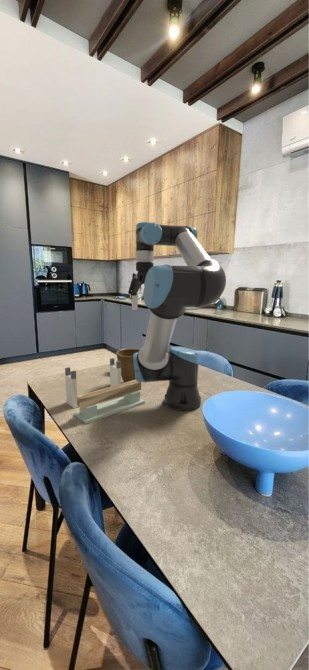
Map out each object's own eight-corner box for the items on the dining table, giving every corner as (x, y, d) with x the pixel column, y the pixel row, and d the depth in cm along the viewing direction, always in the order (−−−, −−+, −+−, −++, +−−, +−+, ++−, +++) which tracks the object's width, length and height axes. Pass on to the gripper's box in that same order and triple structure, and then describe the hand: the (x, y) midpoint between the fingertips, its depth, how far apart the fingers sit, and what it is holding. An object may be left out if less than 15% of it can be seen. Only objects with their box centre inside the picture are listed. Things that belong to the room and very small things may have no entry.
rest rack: (145, 403, 117) (145, 391, 116) (85, 424, 100) (85, 411, 99) (132, 396, 124) (132, 385, 123) (74, 414, 107) (73, 402, 106)
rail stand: (121, 393, 126) (121, 361, 123) (73, 408, 112) (71, 372, 108) (113, 388, 131) (112, 357, 128) (66, 402, 117) (64, 367, 114)
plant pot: (146, 390, 130) (147, 356, 127) (114, 389, 131) (114, 356, 127) (148, 378, 145) (148, 348, 142) (119, 378, 145) (118, 348, 142)
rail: (141, 389, 118) (141, 381, 117) (81, 408, 101) (81, 399, 100) (135, 387, 121) (135, 379, 120) (77, 405, 103) (76, 396, 103)
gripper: (172, 261, 114) (170, 313, 118) (133, 262, 131) (133, 308, 136) (158, 260, 109) (157, 315, 113) (120, 262, 126) (120, 309, 131)
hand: (144, 311), depth 124 cm, fingers open, 13 cm apart
